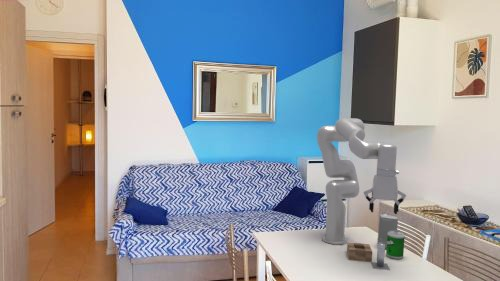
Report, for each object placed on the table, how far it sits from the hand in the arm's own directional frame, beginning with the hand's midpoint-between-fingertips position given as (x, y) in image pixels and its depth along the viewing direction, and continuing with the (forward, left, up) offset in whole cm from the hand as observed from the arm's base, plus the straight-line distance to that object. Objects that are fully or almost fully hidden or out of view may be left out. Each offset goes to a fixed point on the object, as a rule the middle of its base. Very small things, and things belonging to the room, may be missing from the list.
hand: (383, 212), depth 168 cm
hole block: (-9, -8, -24) cm, 27 cm away
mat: (0, 0, -24) cm, 24 cm away
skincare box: (-27, +7, -24) cm, 37 cm away
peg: (0, 0, -24) cm, 24 cm away
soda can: (-13, +8, -24) cm, 29 cm away
